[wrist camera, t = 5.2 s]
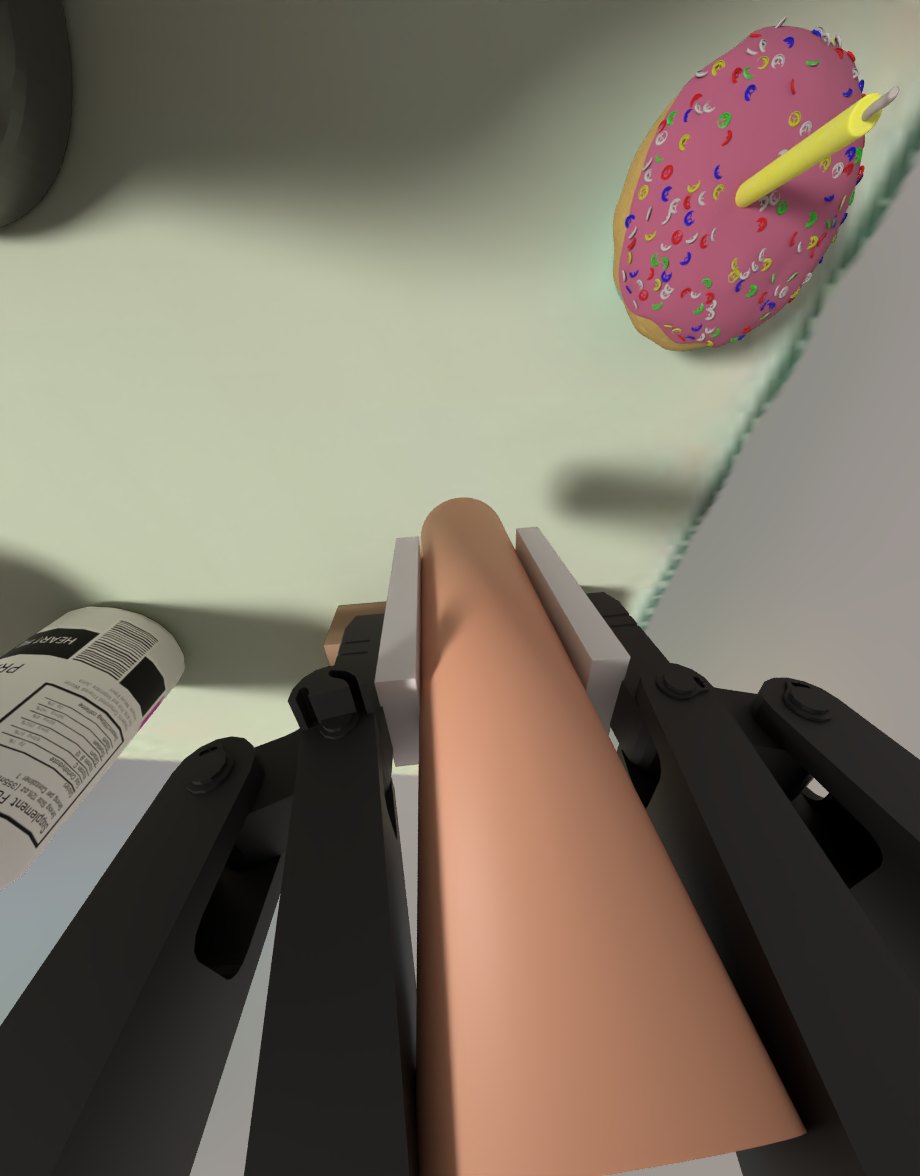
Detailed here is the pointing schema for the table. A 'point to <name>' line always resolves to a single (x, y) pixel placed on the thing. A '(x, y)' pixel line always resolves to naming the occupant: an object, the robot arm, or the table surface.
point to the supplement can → (72, 717)
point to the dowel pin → (553, 912)
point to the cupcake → (741, 187)
